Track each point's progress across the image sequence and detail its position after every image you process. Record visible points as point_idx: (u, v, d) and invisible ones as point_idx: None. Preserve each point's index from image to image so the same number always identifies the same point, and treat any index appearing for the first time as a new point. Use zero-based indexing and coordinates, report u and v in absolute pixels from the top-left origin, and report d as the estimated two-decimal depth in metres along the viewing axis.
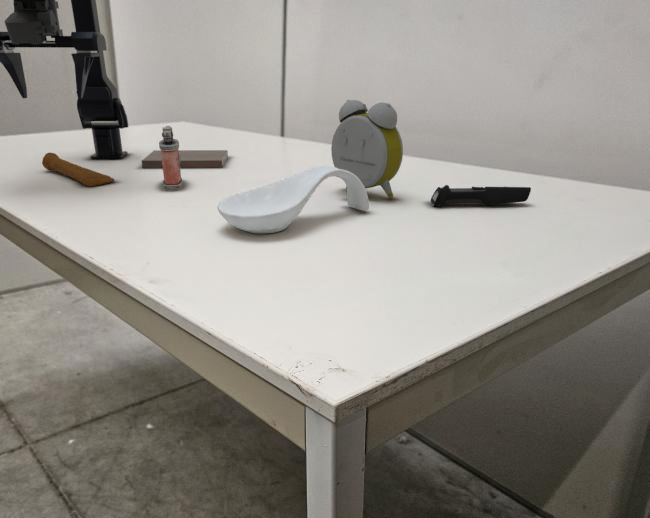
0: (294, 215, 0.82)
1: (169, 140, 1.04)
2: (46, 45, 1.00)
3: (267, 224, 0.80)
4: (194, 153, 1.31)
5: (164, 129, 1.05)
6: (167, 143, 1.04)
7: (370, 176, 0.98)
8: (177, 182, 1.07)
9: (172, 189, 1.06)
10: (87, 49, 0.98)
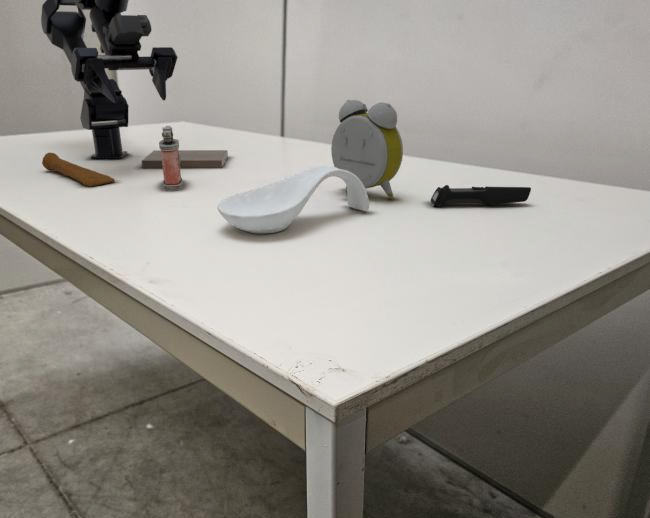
0: (294, 215, 0.82)
1: (169, 140, 1.04)
2: (129, 63, 1.14)
3: (267, 224, 0.80)
4: (194, 153, 1.31)
5: (164, 129, 1.05)
6: (167, 143, 1.04)
7: (370, 176, 0.98)
8: (177, 182, 1.07)
9: (172, 189, 1.06)
10: (170, 54, 1.16)
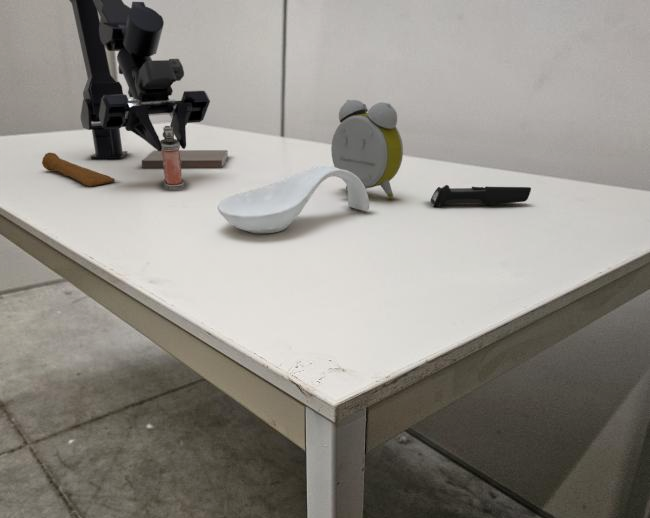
0: (294, 215, 0.82)
1: (171, 140, 1.04)
2: (159, 108, 1.08)
3: (267, 224, 0.80)
4: (194, 153, 1.31)
5: (165, 129, 1.05)
6: (169, 143, 1.04)
7: (370, 176, 0.98)
8: (179, 182, 1.07)
9: (175, 189, 1.06)
10: (202, 98, 1.09)
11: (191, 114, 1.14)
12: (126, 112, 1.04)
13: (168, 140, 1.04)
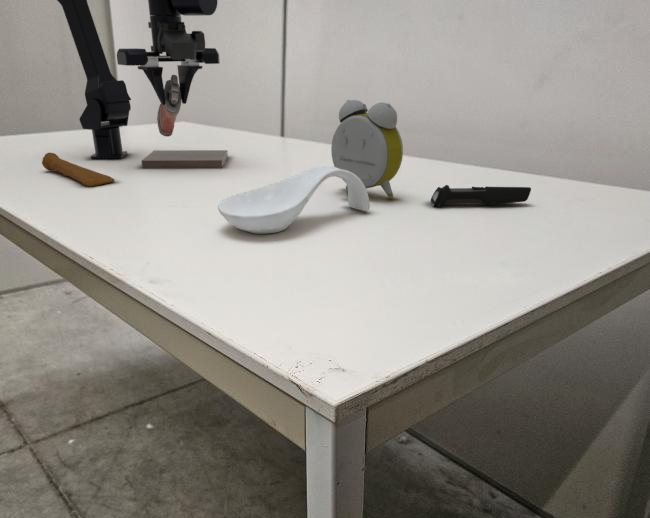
0: (294, 215, 0.82)
1: (175, 103, 1.20)
2: (173, 59, 1.18)
3: (267, 224, 0.80)
4: (194, 153, 1.31)
5: (172, 90, 1.19)
6: (172, 105, 1.20)
7: (370, 176, 0.98)
8: (171, 130, 1.26)
9: (166, 135, 1.26)
10: (213, 62, 1.21)
11: None
12: None
13: (172, 103, 1.20)
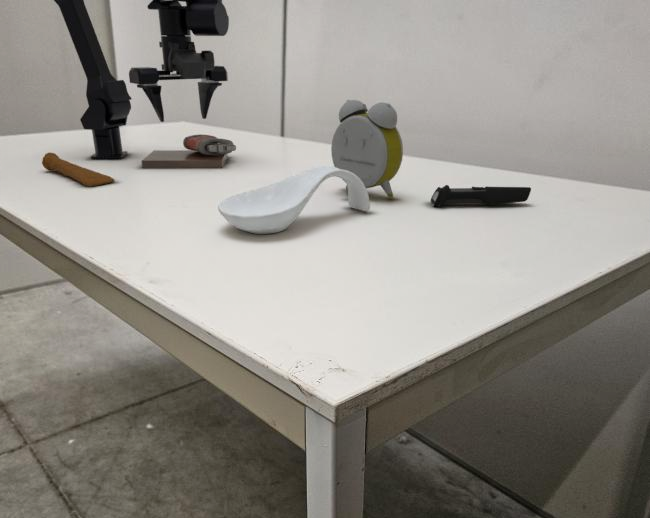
0: (295, 215, 0.82)
1: (207, 149, 1.26)
2: (183, 77, 1.23)
3: (268, 224, 0.80)
4: (194, 153, 1.31)
5: (218, 146, 1.26)
6: (206, 147, 1.27)
7: (370, 176, 0.98)
8: (188, 148, 1.31)
9: (183, 143, 1.31)
10: (222, 80, 1.25)
11: None
12: None
13: (207, 146, 1.26)
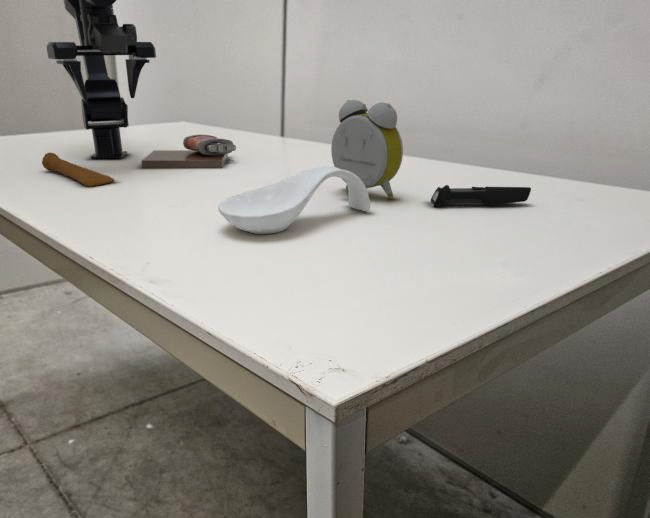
0: (295, 215, 0.82)
1: (207, 149, 1.26)
2: (106, 53, 1.16)
3: (268, 224, 0.80)
4: (194, 153, 1.31)
5: (218, 146, 1.26)
6: (206, 147, 1.27)
7: (370, 176, 0.98)
8: (188, 148, 1.31)
9: (183, 143, 1.31)
10: (149, 56, 1.18)
11: None
12: None
13: (207, 146, 1.26)
